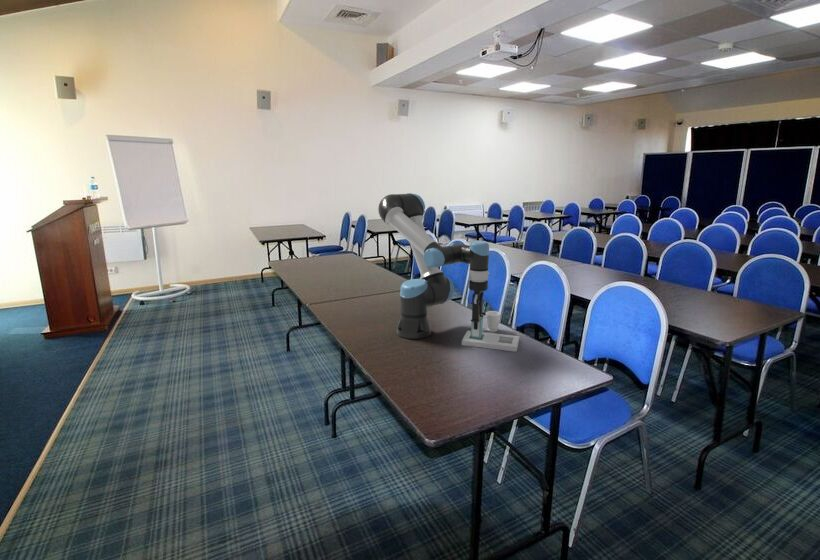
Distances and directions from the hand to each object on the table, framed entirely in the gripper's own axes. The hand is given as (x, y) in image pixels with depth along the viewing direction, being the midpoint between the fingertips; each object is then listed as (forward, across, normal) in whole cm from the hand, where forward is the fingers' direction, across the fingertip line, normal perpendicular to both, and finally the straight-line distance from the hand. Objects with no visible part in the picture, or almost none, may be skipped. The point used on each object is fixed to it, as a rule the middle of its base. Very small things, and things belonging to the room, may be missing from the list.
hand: (476, 334), depth 175 cm
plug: (+3, 0, 0) cm, 3 cm away
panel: (+3, 0, -6) cm, 7 cm away
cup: (+3, +14, -3) cm, 15 cm away
